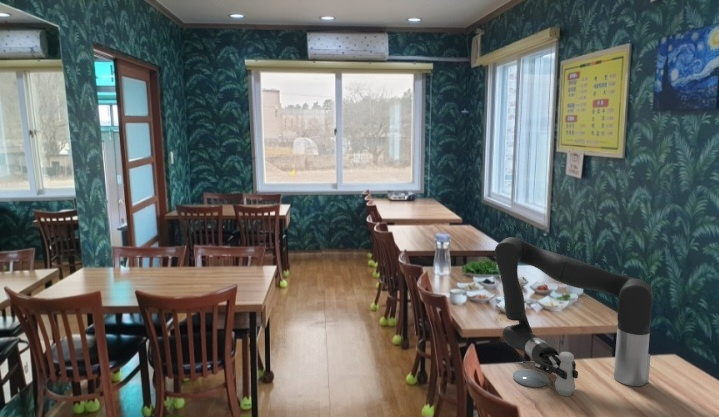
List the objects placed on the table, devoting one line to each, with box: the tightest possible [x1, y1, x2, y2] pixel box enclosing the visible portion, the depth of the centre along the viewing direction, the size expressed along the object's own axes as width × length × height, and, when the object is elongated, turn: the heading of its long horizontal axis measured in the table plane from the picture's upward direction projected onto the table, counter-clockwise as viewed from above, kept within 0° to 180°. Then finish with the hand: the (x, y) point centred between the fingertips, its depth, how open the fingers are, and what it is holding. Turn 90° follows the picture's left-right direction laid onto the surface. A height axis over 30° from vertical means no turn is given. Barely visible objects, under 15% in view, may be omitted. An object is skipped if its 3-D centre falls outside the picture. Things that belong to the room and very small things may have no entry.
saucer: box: [512, 368, 549, 388], centre depth 164 cm, size 11×11×1 cm
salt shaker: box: [554, 351, 576, 397], centre depth 155 cm, size 6×6×13 cm
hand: (571, 375), depth 152 cm, fingers closed on salt shaker, 3 cm apart
